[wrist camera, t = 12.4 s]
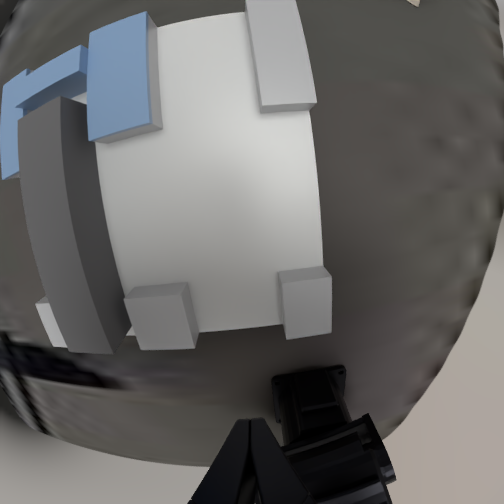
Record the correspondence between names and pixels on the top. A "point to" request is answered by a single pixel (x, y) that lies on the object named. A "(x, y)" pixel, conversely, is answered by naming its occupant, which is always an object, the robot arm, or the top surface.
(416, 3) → the condiment
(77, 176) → the long grey beam
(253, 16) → the white plate with bars
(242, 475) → the robot arm
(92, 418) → the top surface
